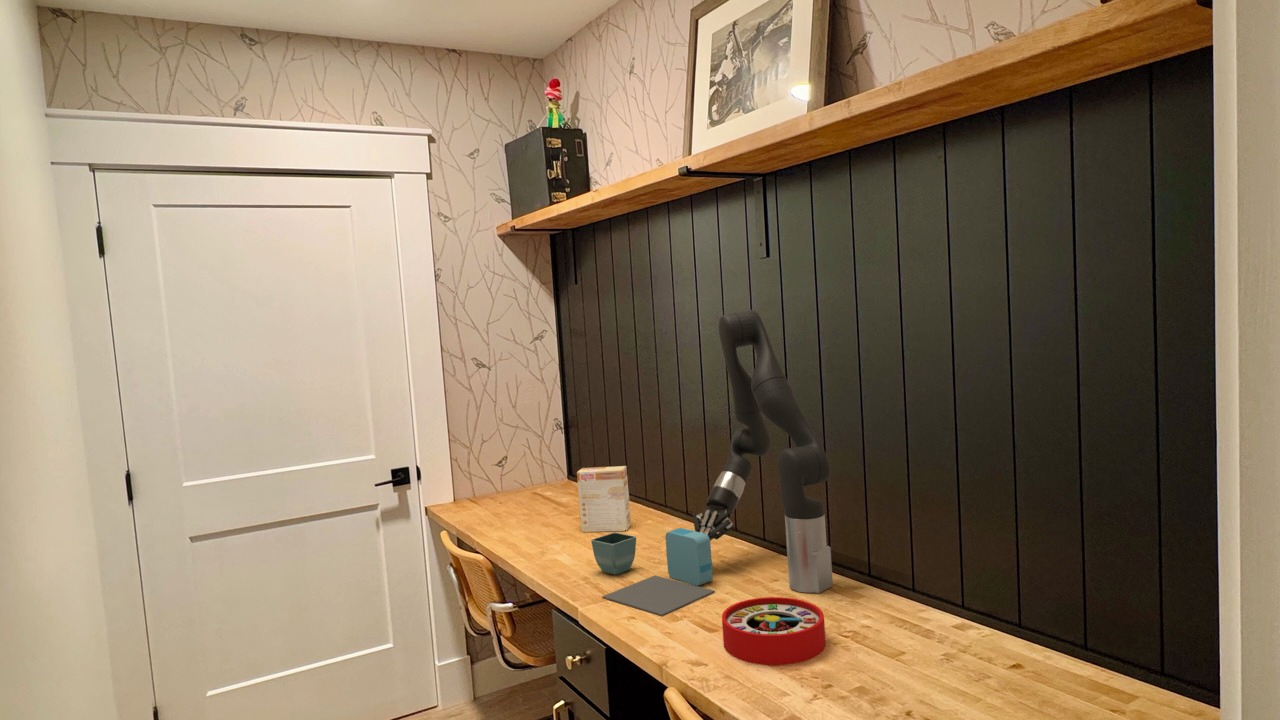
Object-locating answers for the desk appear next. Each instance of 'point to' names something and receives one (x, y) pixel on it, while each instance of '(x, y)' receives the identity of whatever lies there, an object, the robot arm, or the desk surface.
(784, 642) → the toy clock
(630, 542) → the flower pot
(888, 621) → the desk surface
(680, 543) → the data package
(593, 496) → the coffeecake box
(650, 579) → the mat
